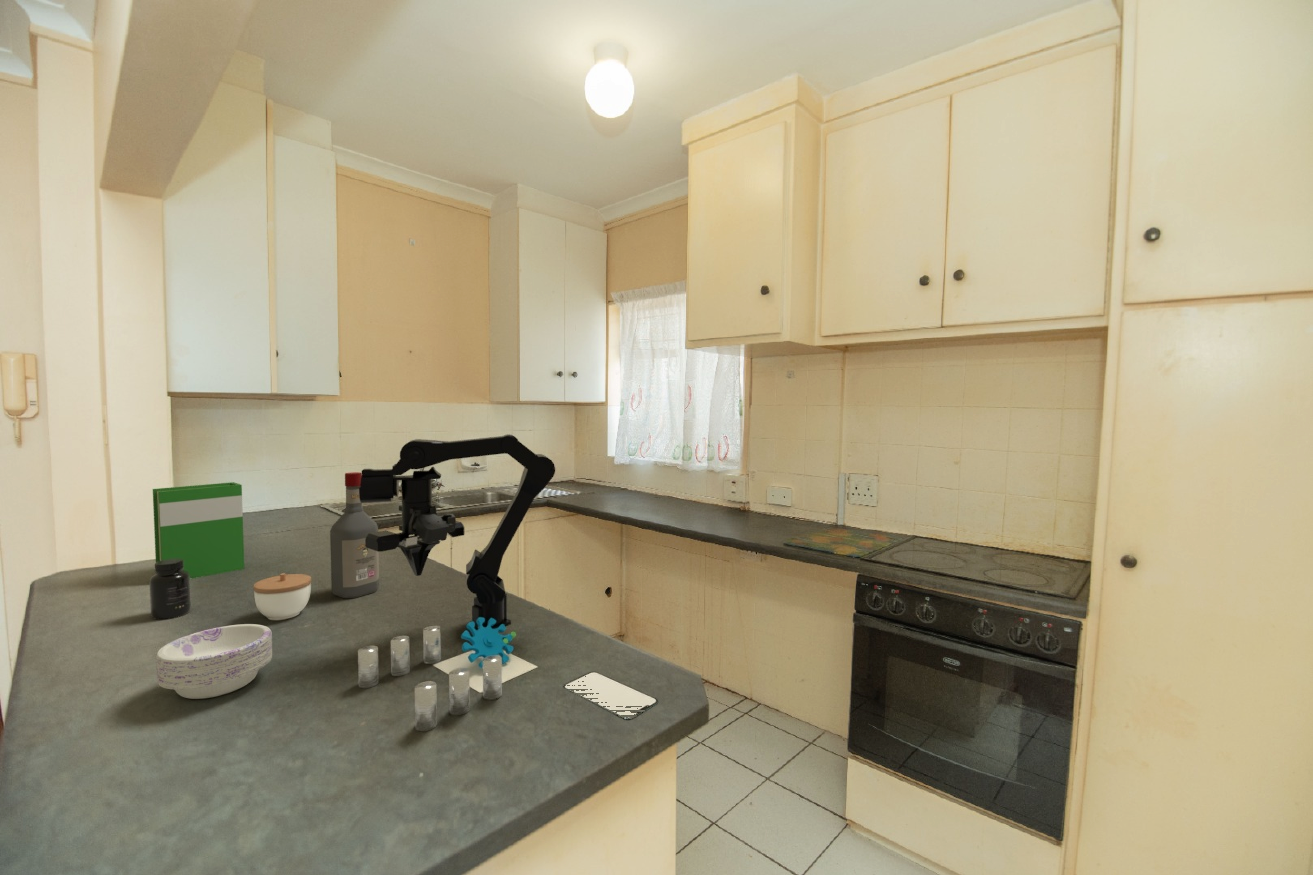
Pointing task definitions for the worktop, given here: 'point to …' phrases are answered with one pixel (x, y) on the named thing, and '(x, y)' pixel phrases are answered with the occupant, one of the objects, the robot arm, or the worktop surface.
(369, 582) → the liquor
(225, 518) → the hardback book
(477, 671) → the pad
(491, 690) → the posts
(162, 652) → the paper bowls
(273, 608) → the lidded jar
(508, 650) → the gear
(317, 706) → the worktop surface
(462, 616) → the worktop surface
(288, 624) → the worktop surface
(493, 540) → the robot arm
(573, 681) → the smartphone
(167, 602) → the supplement bottle
